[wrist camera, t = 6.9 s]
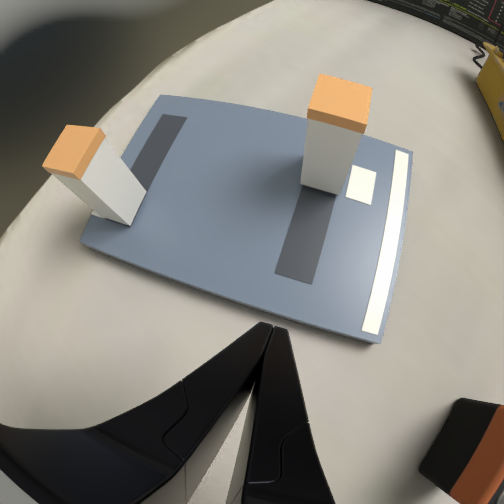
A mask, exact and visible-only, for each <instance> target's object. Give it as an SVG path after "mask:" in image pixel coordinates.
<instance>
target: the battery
mask: <svg viewBox="0 0 504 504" xmlns="http://www.w3.org/2000/svg"><path fill="white" fill-rule="evenodd" d="M419 472H420V473H421V474H422V475H423V476H425V477H426V478H427V479H429V480H430V481H431V482H432V483H434V484H435V485H436V486H438V487H439V488H440V489H441V490H443V491H444V492H445V493H447V494H448V495H449V496H451V497H452V498H453V499H455V500H456V501H457V502H459V503H460V504H504V405H500V404H494V403H488V402H483V401H477V400H472V399H467V398H460V399H459V400H458V401H457V402H456V404H455V406H454V408H453V410H452V412H451V414H450V416H449V418H448V420H447V422H446V424H445V425H444V427H443V429H442V431H441V432H440V434H439V436H438V438H437V439H436V441H435V443H434V444H433V446H432V448H431V449H430V451H429V453H428V454H427V456H426V457H425V459H424V460H423V462H422V464H421V465H420V467H419Z"/></svg>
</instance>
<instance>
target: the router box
mask: <svg viewBox="0 0 504 504" xmlns="http://www.w3.org/2000/svg"><path fill="white" fill-rule="evenodd" d="M369 1H373V2H376V3H380V4H383V5H386V6H389V7H392V8H395V9H398V10H401V11H404V12H407V13H409V14H412V15H415V16H417V17H420V18H422V19H425V20H427V21H430V22H432V23H435V24H437V25H439V26H442V27H444V28H446V29H448V30H450V31H453V32H455V33H457V34H459V35H461V36H463V37H465V38H467V39H469V40H471V41H473V42H475V43H476V44H481V45H483V42H486V43H489V44H491V45H493V46H494V40H495V37H496V35H497V33H498V31H499V29H500V27H501V25H502V23H503V21H504V0H369ZM496 46H498V48H502V49H504V27H503V29H502V31H501V33H500V36H499V38H498V40H497V43H496ZM485 49H486V48H485Z"/></svg>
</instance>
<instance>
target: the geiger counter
mask: <svg viewBox="0 0 504 504" xmlns="http://www.w3.org/2000/svg"><path fill="white" fill-rule="evenodd" d="M503 27H504V21H503V23H502V25H501V27H500V29H499V31H498V33H497V35H496V37H495V40H494V46H493V45H491V44H489V43H486V42H483V45H481V44H476V47H477V49H478V50H479V51H480V52H481V53H482V55H479V56H475V57H473V61H474V62H475V63H476V64H477V65H478V66H479V67H480V68H481V71H480V73H479V74H478V76H477V78H476V80H475V81H476V83H477V85H478V87H479V89H480V91H481V93H482V95H483V97H484V99H485V101H486V103H487V105H488V107H489V109H490V112H491V114H492V116H493V118H494V120H495V123H496V125H497V127H498V130H499V132H500V135H501V137H502V140H503V142H504V49H502V48H498V46H496V43H497V40H498V38H499V36H500V33H501V31H502V29H503ZM478 46H479V47H484V48H486V50H487V51H488V53H489V56H488V58H487V60H486V62H485V64H484V65H483V67H482V66H481V65H480V64H479V63H478V62H477V61H476V59H478V58H482V57H484V56H485V53H484V52H483V51H482V50H481V49H480V48H479V47H478Z"/></svg>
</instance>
